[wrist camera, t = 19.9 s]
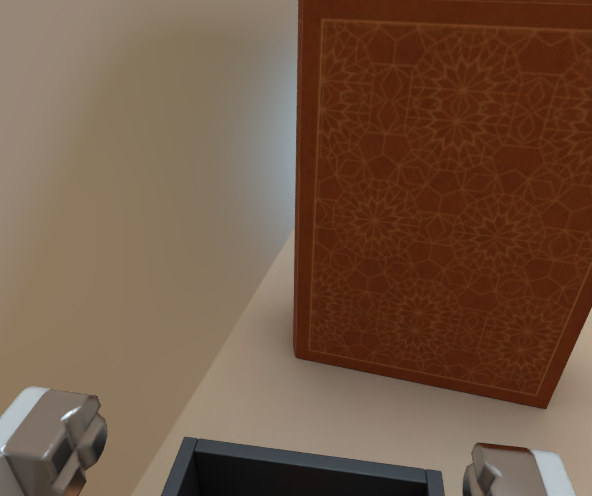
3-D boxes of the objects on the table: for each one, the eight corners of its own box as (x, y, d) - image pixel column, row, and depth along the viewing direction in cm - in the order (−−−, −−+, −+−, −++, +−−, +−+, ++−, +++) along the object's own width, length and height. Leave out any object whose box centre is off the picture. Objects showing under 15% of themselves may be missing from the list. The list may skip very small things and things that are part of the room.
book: (530, 343, 46) (660, -1, 30) (546, 408, 39) (725, 9, 23) (305, 303, 50) (316, -11, 35) (285, 355, 44) (286, -5, 28)
